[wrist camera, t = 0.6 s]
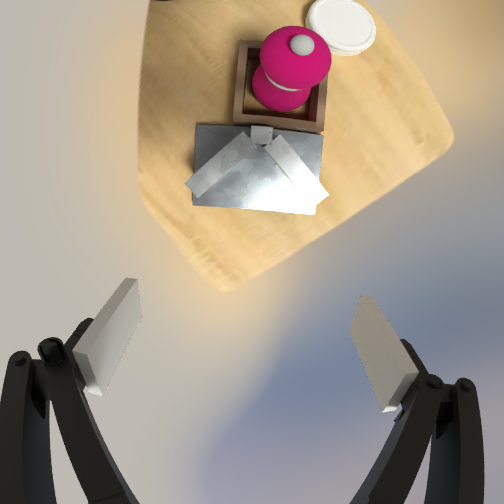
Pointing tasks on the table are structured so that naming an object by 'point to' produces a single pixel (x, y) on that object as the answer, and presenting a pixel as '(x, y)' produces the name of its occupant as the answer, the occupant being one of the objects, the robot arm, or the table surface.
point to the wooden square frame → (313, 125)
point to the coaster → (342, 25)
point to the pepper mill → (290, 67)
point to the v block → (257, 169)
